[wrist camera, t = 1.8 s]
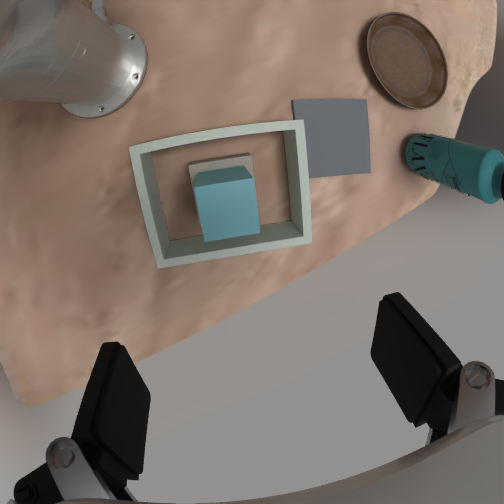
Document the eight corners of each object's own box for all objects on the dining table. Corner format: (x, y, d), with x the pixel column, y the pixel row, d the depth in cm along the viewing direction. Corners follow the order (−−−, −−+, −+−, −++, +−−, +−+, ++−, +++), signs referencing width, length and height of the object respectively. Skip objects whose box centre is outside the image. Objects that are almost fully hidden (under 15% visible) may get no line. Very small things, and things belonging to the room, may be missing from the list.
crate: (141, 143, 31) (128, 147, 26) (289, 120, 32) (303, 119, 27) (164, 249, 37) (157, 268, 32) (299, 226, 38) (312, 243, 33)
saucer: (449, 88, 32) (461, 88, 29) (391, 125, 34) (402, 126, 31) (406, 7, 25) (416, 3, 23) (337, 33, 28) (346, 28, 25)
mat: (291, 100, 31) (293, 99, 30) (364, 99, 32) (366, 99, 31) (299, 178, 35) (300, 179, 35) (368, 171, 36) (370, 172, 35)
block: (198, 172, 31) (194, 187, 23) (243, 165, 31) (253, 178, 24) (206, 214, 33) (204, 242, 25) (249, 207, 33) (260, 232, 26)
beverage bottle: (405, 123, 33) (519, 144, 15) (435, 142, 35) (540, 173, 17) (392, 164, 36) (502, 208, 18) (423, 180, 37) (524, 227, 19)
